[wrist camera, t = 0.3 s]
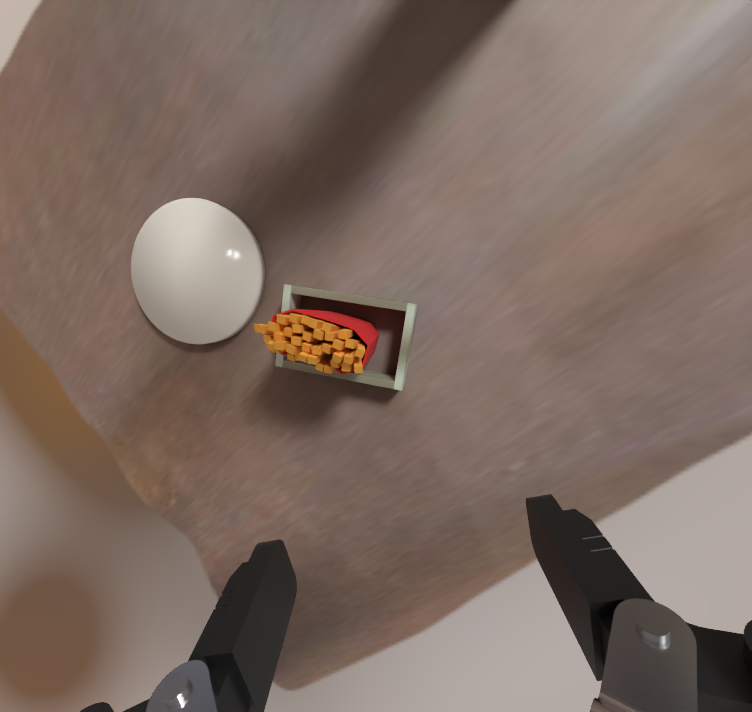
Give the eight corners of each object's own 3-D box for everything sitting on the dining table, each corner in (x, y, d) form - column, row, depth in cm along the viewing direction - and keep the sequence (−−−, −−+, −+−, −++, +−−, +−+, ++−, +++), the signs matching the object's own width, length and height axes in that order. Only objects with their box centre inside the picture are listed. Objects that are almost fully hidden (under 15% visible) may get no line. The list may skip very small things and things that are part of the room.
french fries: (306, 341, 40) (242, 355, 28) (315, 304, 39) (254, 300, 27) (384, 365, 39) (354, 392, 26) (395, 327, 38) (370, 336, 25)
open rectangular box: (296, 286, 40) (284, 284, 37) (418, 304, 37) (415, 304, 34) (287, 362, 41) (275, 366, 38) (404, 384, 39) (401, 390, 36)
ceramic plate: (145, 195, 42) (134, 190, 40) (272, 210, 39) (266, 206, 38) (138, 331, 44) (127, 331, 43) (257, 353, 42) (250, 355, 40)
